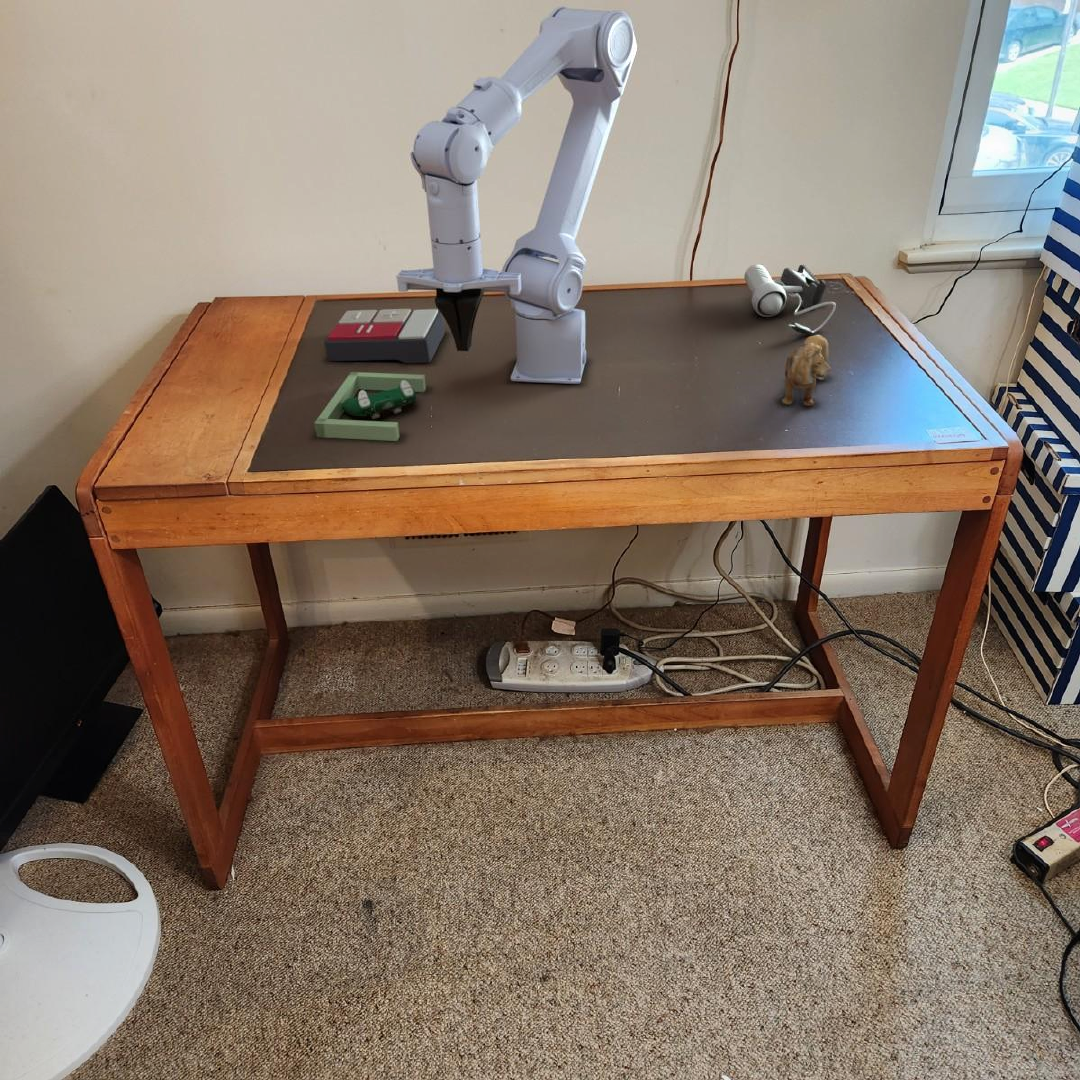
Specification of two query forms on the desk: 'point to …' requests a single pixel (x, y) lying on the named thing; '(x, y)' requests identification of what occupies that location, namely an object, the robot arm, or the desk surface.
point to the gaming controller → (380, 401)
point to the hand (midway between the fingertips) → (464, 347)
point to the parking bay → (357, 429)
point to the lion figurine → (806, 368)
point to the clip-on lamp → (773, 296)
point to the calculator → (386, 335)
